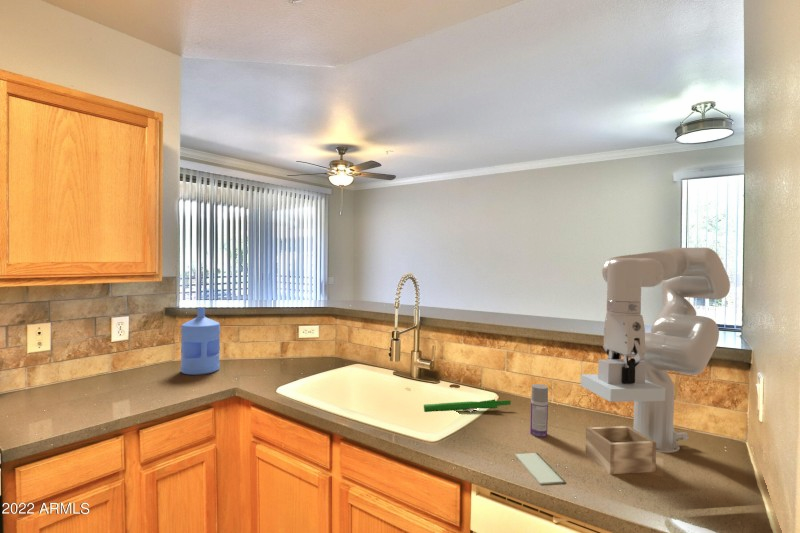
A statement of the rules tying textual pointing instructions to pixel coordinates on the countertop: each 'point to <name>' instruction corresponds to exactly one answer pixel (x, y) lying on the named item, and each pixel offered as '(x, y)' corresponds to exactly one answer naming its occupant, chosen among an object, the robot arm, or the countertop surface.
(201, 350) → the water jug
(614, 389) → the lid
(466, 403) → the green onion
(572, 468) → the countertop surface
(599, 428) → the box
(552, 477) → the mat
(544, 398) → the container
